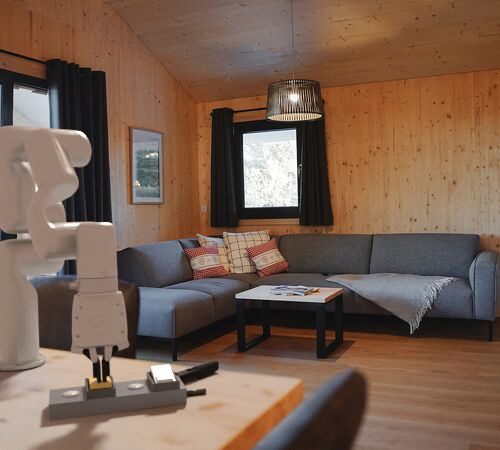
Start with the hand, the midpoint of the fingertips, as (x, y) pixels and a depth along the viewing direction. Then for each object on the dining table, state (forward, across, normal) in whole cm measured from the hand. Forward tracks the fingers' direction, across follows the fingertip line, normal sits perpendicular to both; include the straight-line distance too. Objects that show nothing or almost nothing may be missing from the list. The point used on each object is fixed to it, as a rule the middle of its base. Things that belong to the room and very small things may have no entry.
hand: (101, 380), depth 109 cm
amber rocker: (+1, 0, +3) cm, 3 cm away
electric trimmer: (+6, +20, +14) cm, 26 cm away
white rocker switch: (+2, +12, +3) cm, 13 cm away
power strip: (+6, +6, +3) cm, 9 cm away
